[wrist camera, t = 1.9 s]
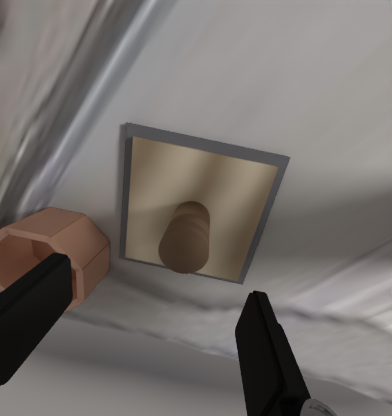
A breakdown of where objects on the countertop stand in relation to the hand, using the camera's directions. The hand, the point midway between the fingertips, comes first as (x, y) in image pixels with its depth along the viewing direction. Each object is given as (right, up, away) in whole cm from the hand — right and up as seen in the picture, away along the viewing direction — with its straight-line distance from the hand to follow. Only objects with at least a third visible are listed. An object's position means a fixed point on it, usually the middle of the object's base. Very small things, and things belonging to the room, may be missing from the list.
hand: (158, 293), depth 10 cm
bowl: (-14, 0, +13) cm, 19 cm away
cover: (+2, +4, +10) cm, 11 cm away
